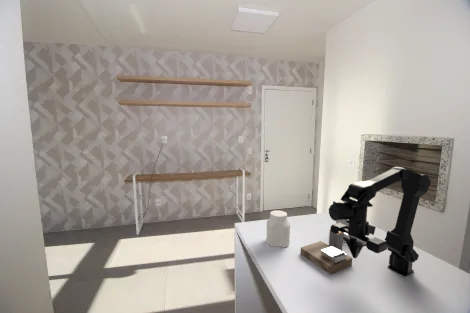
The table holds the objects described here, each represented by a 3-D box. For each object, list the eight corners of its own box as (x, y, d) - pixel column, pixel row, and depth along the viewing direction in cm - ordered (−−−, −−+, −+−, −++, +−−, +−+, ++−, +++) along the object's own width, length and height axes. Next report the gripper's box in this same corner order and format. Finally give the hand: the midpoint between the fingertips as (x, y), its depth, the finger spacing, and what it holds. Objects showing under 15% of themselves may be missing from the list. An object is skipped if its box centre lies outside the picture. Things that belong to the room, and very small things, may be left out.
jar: (265, 246, 104) (266, 216, 102) (266, 236, 114) (267, 209, 112) (290, 248, 102) (291, 218, 100) (288, 238, 112) (289, 210, 110)
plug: (342, 249, 102) (343, 231, 101) (336, 251, 100) (337, 233, 99) (334, 245, 105) (335, 227, 104) (328, 247, 103) (329, 229, 102)
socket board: (351, 264, 89) (352, 258, 89) (330, 274, 83) (330, 266, 83) (320, 246, 103) (320, 240, 103) (300, 253, 98) (300, 247, 97)
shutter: (346, 258, 88) (346, 252, 88) (335, 263, 85) (335, 256, 85) (331, 250, 94) (332, 244, 94) (320, 254, 91) (321, 248, 91)
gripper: (397, 223, 75) (394, 265, 77) (348, 206, 91) (346, 241, 93) (379, 229, 70) (375, 274, 72) (330, 211, 86) (328, 248, 88)
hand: (354, 257), depth 81 cm, fingers closed
